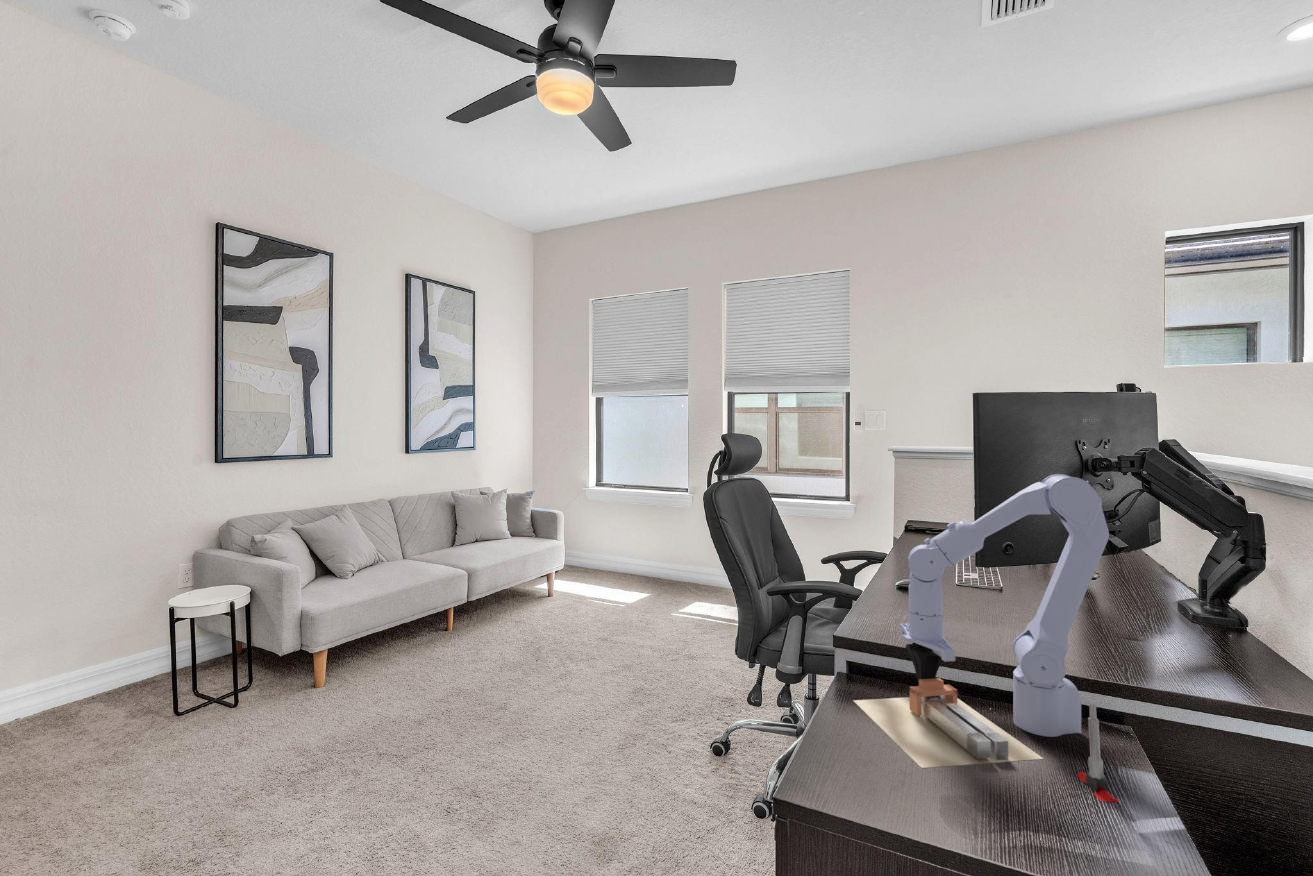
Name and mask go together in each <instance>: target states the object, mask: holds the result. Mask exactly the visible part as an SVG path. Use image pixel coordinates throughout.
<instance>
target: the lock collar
mask: <svg viewBox="0 0 1313 876" xmlns="http://www.w3.org/2000/svg"><path fill="white" fill-rule="evenodd" d="M944 682H945V681H944V680H943V679H941V678H938V677H936V678H935V679H919V684H918V685H916V686H913V685H912V686H909V697H910V710H911V711H912V712H913V713H915V714H916V715H917V716H919V715H921V697H924V696H941V695H945V696H946V697H948V698H949V699H951V700H952V701H953V702H955V703H956V704H957V698H958V689H957V688H955V687H954V686H952V685H951V684H944Z"/></svg>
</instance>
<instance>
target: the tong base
mask: <svg viewBox="0 0 1313 876" xmlns="http://www.w3.org/2000/svg"><path fill="white" fill-rule="evenodd" d="M929 700H936V701H938V702H939V703H940V704H941V705H943V706H944V707H945V708H947V709H948V710H949V711H951V712H952V713H953V714H955V715H956V716H957V717H959V718H960V719H961V720H963V721H964V722H965V723H966V724H968V725H969V726H970V727H972V728H973V729H974V730H976V731H977V732H978V733H981V734H982V735H983V736H985V737H986V738H987V739H988V740H990V741H991V757H992V758H993V759H994V760H1007V759H1008V740H1006V739H1005V738H1003V737H1002V736H1001V735H999V734H998V733H996V732H995V731H994V730H992V729H991V728H989V727H988V726H987V725H985V724H984V723H983V722H981V721H980V720H978V719H977V718H976V717H974V716H973V715H971V714H970V713H969V712H967V711H966V710H964V709H963V708H962V707H960V706H959V705H957V704H956V703H955V702H953V701H952V700H951V699H949V698H948V697H946V696H945V695H941V696H924V697H921V701H922V702H923V711H924V712H925V701H929Z"/></svg>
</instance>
